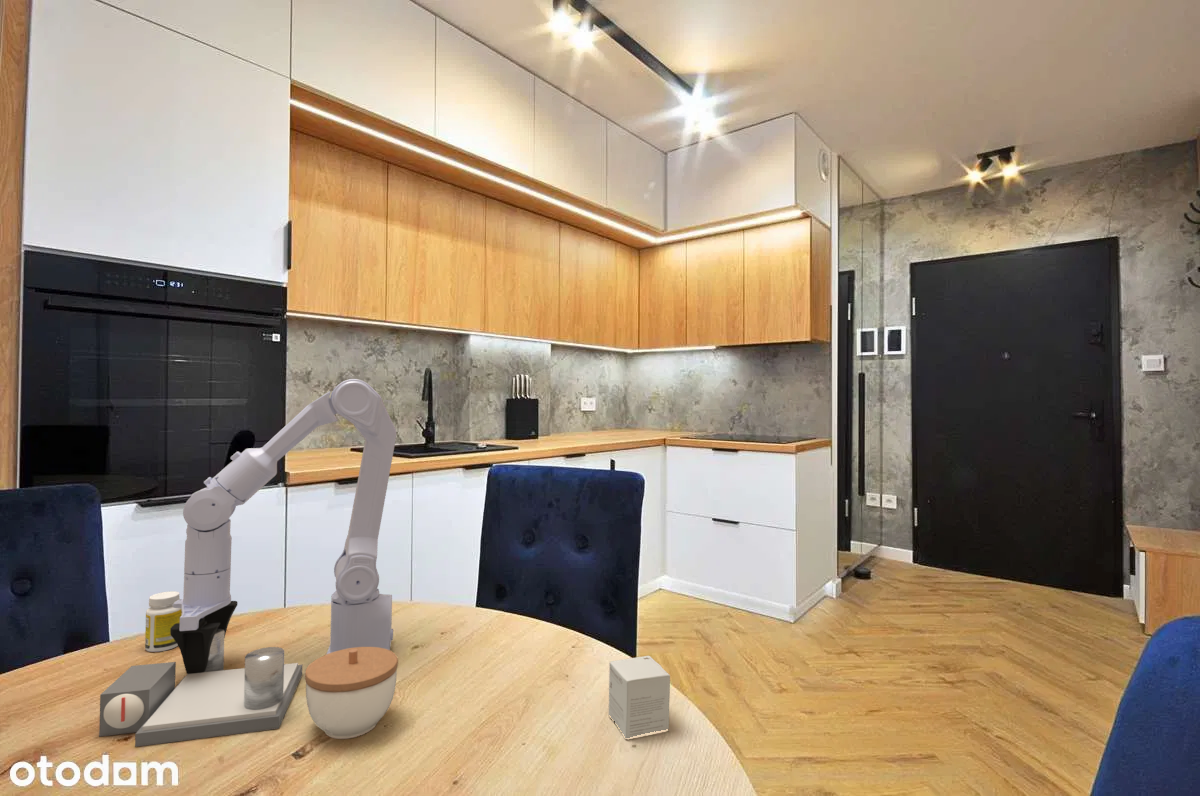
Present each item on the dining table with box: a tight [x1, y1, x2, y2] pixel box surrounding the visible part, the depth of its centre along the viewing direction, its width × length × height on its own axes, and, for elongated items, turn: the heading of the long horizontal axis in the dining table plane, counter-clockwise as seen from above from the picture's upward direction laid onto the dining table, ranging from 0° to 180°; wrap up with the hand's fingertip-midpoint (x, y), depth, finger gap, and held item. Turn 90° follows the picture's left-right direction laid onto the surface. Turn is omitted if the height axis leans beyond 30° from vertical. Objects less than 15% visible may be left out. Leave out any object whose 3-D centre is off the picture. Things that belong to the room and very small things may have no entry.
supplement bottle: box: [144, 590, 182, 653], centre depth 96 cm, size 5×5×8 cm
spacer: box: [205, 628, 225, 672], centre depth 87 cm, size 4×4×6 cm
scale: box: [98, 661, 304, 748], centre depth 77 cm, size 20×15×5 cm
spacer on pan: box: [244, 646, 285, 710], centre depth 75 cm, size 4×4×6 cm
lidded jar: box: [304, 647, 399, 740], centre depth 74 cm, size 11×11×9 cm
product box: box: [608, 655, 671, 738], centre depth 75 cm, size 6×6×7 cm
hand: (204, 662), depth 86 cm, fingers open, 6 cm apart
